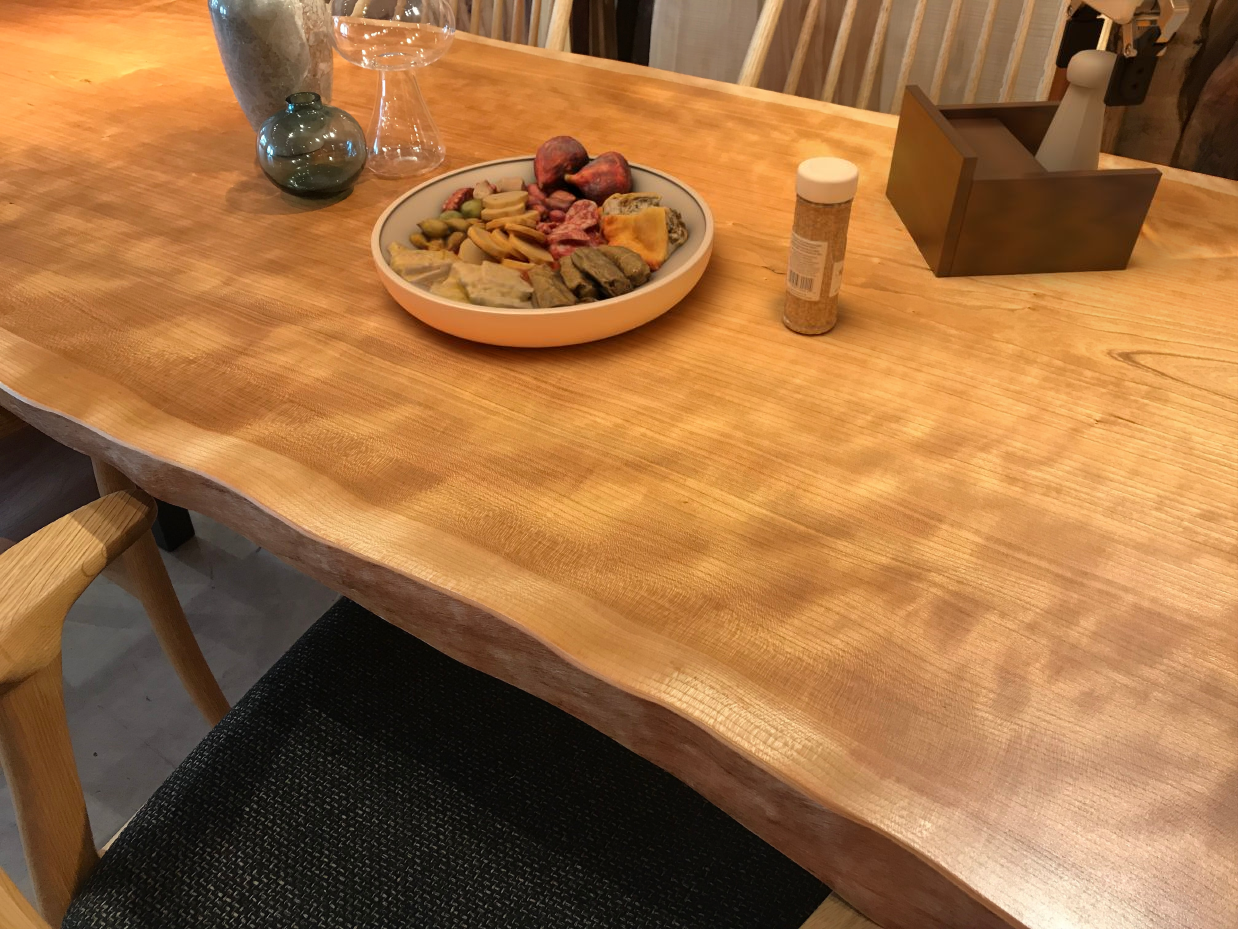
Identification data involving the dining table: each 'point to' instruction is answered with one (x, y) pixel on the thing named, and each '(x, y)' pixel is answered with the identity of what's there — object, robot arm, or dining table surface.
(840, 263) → the sprinkles bottle
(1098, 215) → the box
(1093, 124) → the salt shaker
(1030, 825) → the dining table surface
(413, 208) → the bowl
